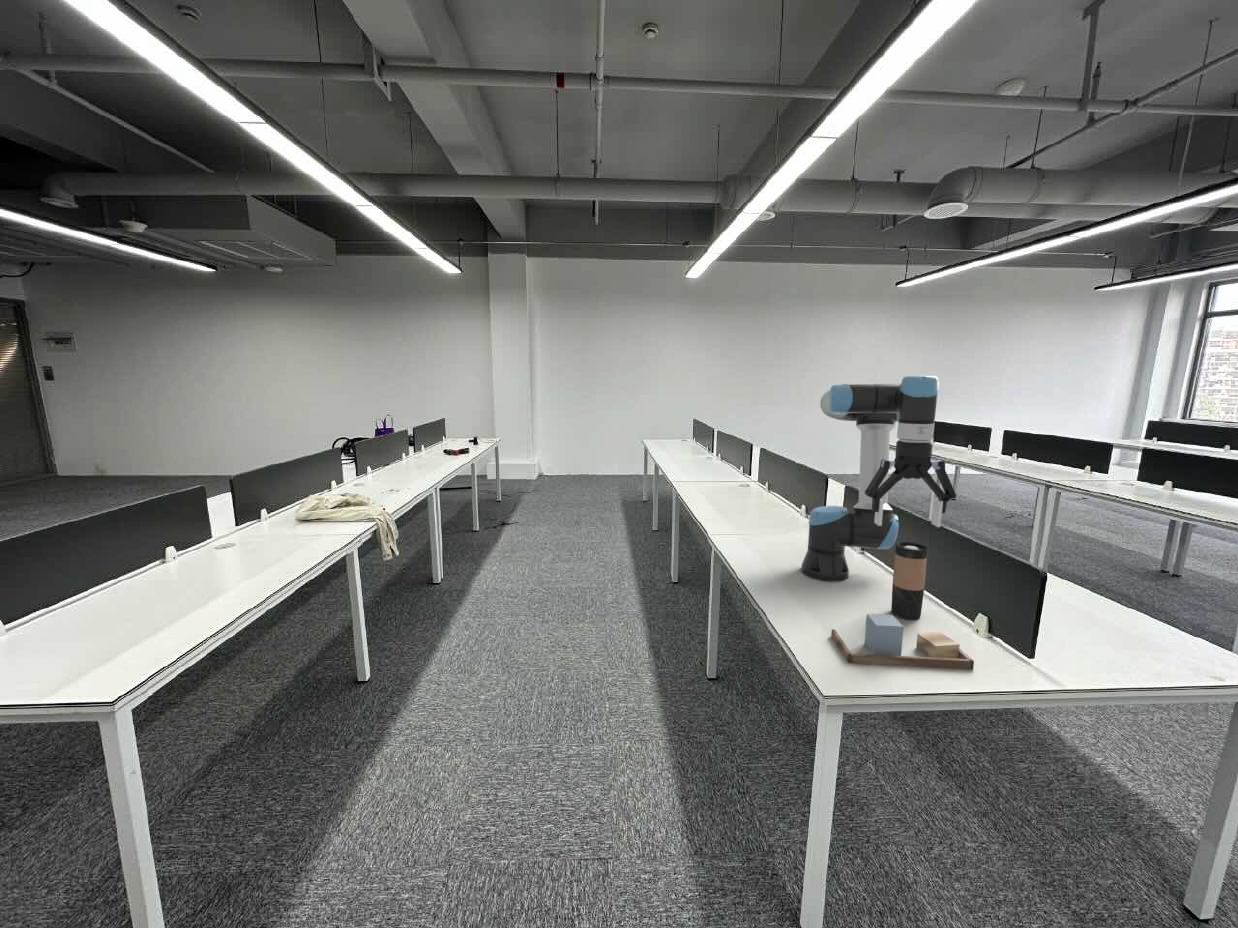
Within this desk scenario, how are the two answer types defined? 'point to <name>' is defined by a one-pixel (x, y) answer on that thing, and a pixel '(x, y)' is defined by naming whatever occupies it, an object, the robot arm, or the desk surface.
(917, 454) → the robot arm
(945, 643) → the oak block
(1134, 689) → the desk surface
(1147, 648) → the desk surface
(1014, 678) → the desk surface
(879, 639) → the slate block
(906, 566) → the travel mug
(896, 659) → the bay
